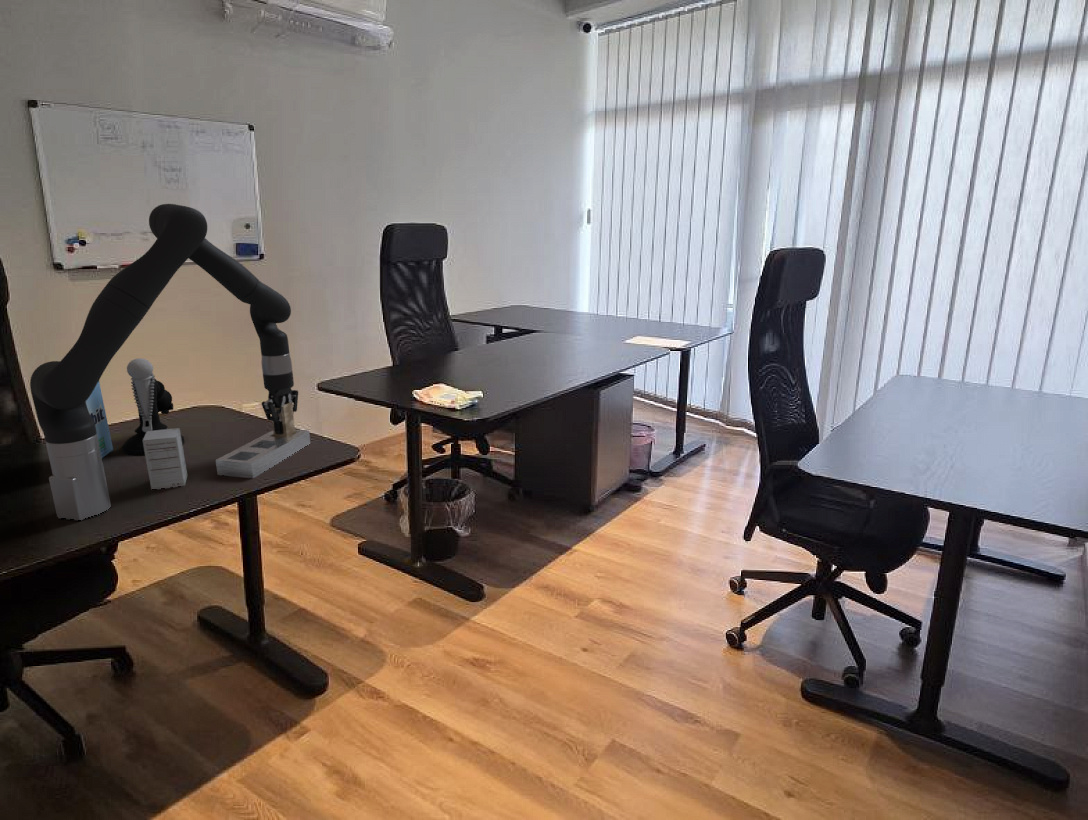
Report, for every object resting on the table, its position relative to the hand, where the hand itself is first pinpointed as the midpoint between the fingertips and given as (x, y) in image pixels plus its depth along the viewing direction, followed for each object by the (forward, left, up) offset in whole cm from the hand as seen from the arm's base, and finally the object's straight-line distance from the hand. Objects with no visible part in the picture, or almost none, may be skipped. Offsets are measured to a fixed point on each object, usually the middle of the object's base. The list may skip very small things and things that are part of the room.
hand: (284, 431), depth 193 cm
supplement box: (-29, +13, -5) cm, 32 cm away
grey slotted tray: (-9, 0, -5) cm, 10 cm away
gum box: (-22, +44, -5) cm, 49 cm away
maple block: (0, 0, -2) cm, 2 cm away
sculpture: (-3, +39, -5) cm, 39 cm away
